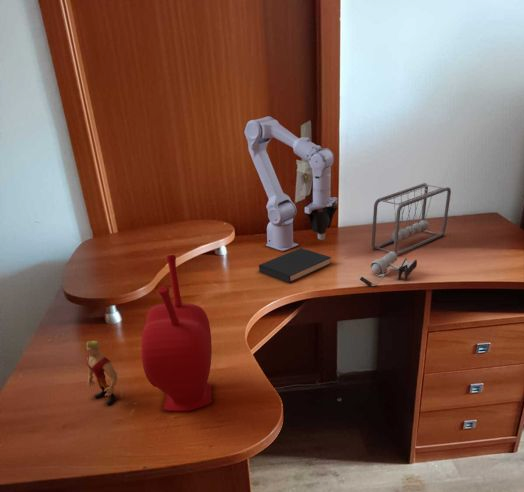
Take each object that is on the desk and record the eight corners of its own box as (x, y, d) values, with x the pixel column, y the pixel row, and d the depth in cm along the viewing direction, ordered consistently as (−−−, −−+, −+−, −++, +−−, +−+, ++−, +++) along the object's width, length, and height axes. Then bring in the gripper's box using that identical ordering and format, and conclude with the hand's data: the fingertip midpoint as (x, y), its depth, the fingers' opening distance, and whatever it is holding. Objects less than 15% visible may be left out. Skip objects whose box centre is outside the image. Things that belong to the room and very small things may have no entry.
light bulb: (331, 238, 177) (332, 209, 171) (326, 243, 172) (326, 214, 167) (316, 236, 179) (316, 208, 174) (310, 242, 175) (310, 213, 169)
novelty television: (163, 372, 120) (140, 252, 104) (217, 367, 120) (202, 247, 105) (153, 430, 102) (123, 295, 87) (217, 424, 103) (199, 289, 87)
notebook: (259, 272, 168) (258, 264, 167) (300, 254, 179) (300, 247, 178) (289, 283, 159) (289, 275, 158) (331, 264, 170) (331, 257, 169)
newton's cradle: (421, 228, 195) (426, 181, 185) (445, 235, 188) (452, 186, 178) (370, 250, 179) (373, 199, 169) (394, 257, 172) (399, 205, 162)
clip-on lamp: (383, 300, 152) (419, 270, 159) (383, 283, 147) (420, 253, 155) (352, 286, 159) (388, 258, 166) (352, 269, 154) (389, 241, 162)
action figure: (86, 395, 114) (69, 337, 106) (100, 387, 116) (84, 330, 108) (112, 410, 109) (97, 351, 101) (126, 402, 111) (111, 343, 103)
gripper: (316, 195, 160) (316, 237, 167) (345, 186, 168) (344, 226, 175) (299, 192, 164) (300, 233, 171) (328, 183, 172) (328, 222, 180)
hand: (321, 229), depth 174 cm, fingers closed on light bulb, 5 cm apart
